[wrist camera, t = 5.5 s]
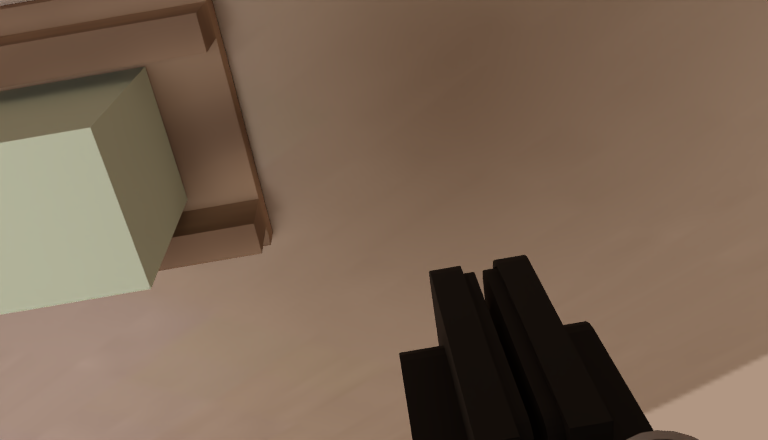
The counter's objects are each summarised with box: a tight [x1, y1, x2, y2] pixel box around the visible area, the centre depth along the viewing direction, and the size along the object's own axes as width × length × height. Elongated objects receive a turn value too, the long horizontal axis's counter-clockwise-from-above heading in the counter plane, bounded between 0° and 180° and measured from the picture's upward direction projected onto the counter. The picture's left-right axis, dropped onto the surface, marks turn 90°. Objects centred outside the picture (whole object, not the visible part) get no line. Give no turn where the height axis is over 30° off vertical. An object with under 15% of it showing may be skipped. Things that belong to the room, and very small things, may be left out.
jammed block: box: [0, 67, 188, 315], centre depth 21 cm, size 5×5×6 cm
